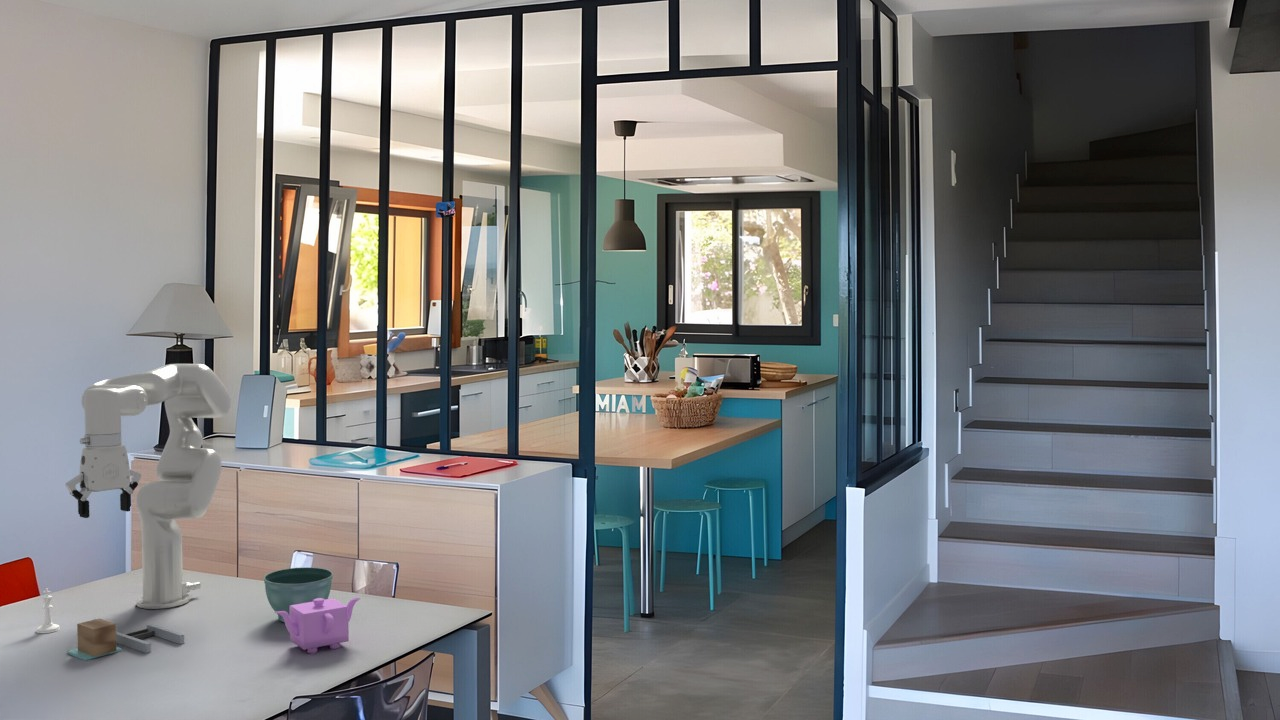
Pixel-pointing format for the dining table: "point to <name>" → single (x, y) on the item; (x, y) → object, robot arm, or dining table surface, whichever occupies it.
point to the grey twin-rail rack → (135, 637)
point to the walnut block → (96, 637)
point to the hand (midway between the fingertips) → (105, 513)
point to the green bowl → (296, 587)
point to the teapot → (319, 623)
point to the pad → (86, 656)
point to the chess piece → (47, 616)
